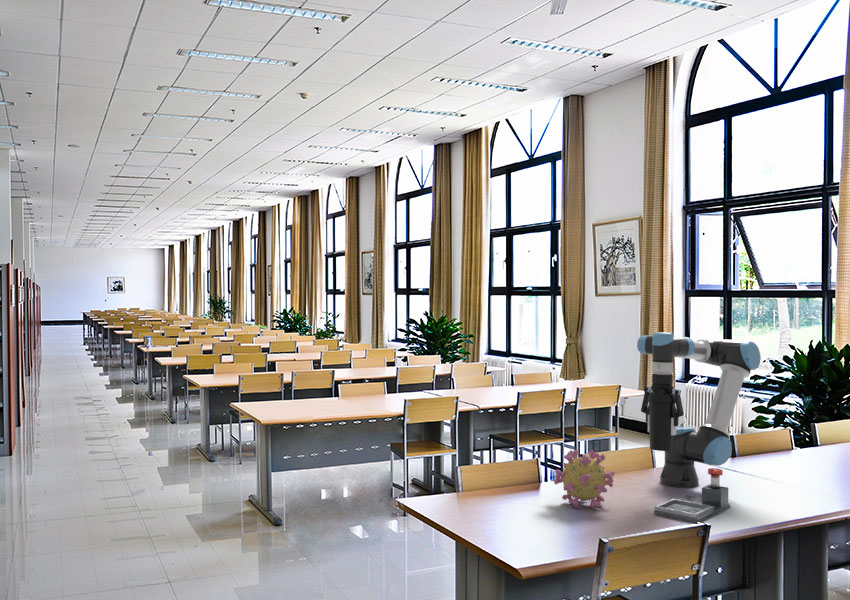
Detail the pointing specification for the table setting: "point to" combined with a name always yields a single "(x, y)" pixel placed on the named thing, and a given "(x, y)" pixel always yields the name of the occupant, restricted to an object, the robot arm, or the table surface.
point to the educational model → (584, 478)
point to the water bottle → (661, 419)
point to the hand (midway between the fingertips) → (661, 433)
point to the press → (695, 505)
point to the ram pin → (715, 477)
